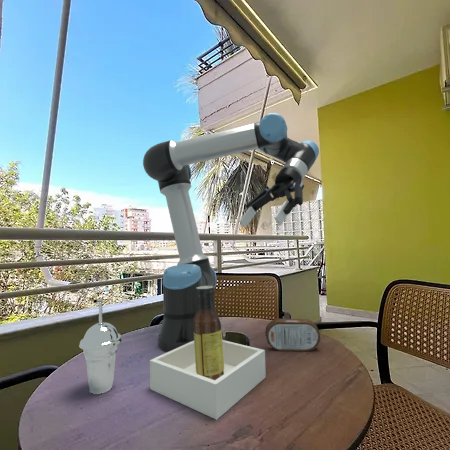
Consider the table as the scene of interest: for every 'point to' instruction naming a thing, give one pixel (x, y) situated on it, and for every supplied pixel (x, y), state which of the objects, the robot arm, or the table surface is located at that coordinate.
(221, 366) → the sauce bottle
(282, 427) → the table surface
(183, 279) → the robot arm
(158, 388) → the box
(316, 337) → the tin
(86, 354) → the cup with straw
